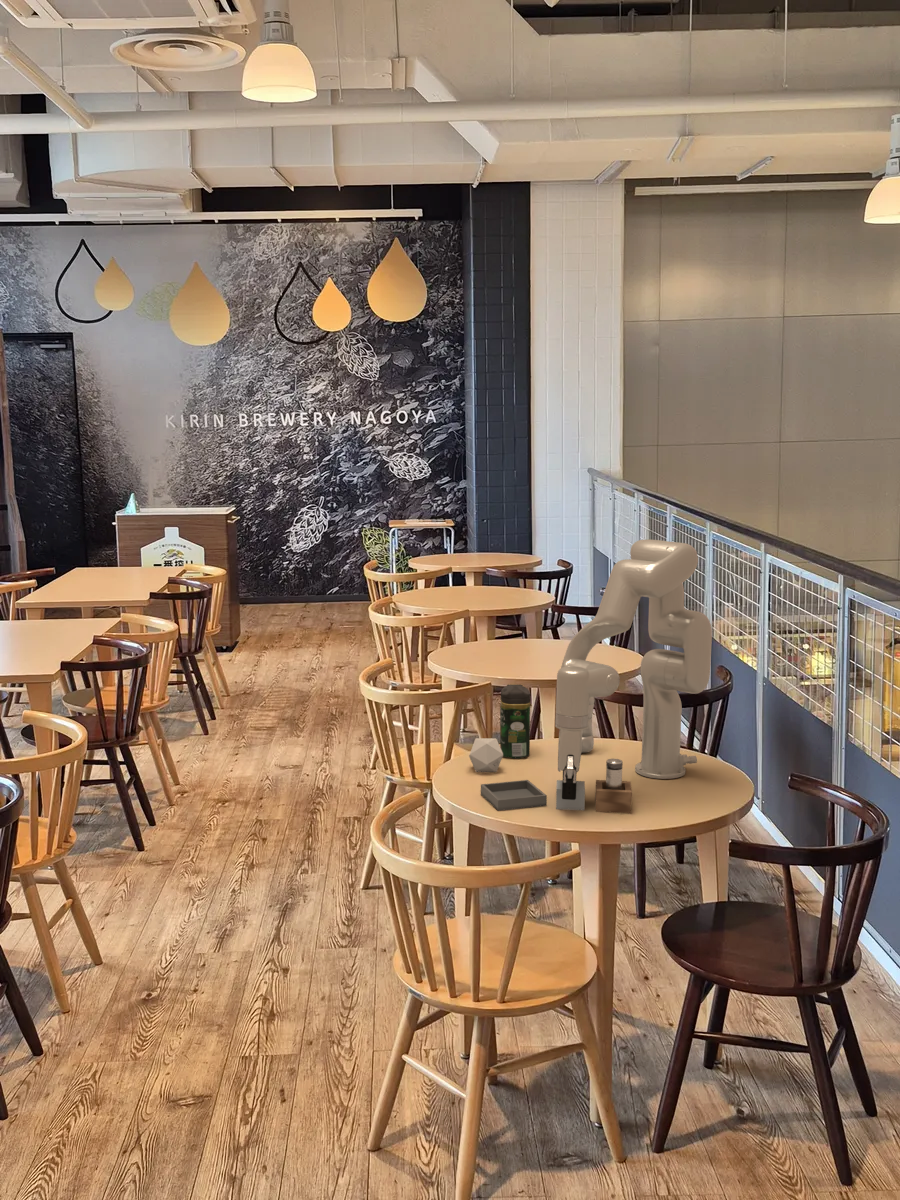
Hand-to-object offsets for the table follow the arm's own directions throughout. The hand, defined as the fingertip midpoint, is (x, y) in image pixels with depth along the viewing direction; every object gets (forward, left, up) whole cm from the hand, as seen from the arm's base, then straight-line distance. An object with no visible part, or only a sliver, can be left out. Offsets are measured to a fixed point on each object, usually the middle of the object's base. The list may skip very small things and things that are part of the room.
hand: (568, 792), depth 268 cm
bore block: (-10, +4, -3) cm, 11 cm away
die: (+9, -31, -3) cm, 32 cm away
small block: (-1, 0, -3) cm, 3 cm away
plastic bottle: (-21, -39, -3) cm, 44 cm away
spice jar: (-10, +4, -3) cm, 11 cm away
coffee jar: (-3, -42, -3) cm, 42 cm away
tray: (+11, -7, -3) cm, 14 cm away
